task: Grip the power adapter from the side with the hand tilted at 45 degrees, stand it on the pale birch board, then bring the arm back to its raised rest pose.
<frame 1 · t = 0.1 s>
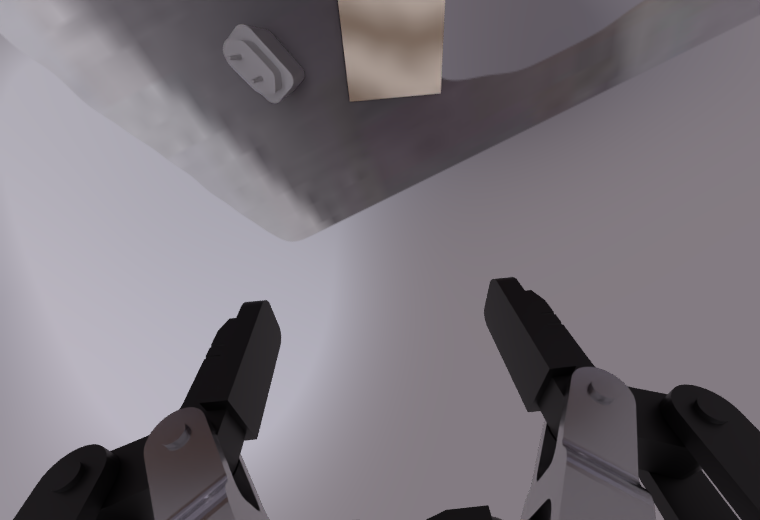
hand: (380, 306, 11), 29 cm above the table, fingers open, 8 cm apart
birch board: (391, 27, 29), on the table
power adapter: (277, 62, 30), on the table
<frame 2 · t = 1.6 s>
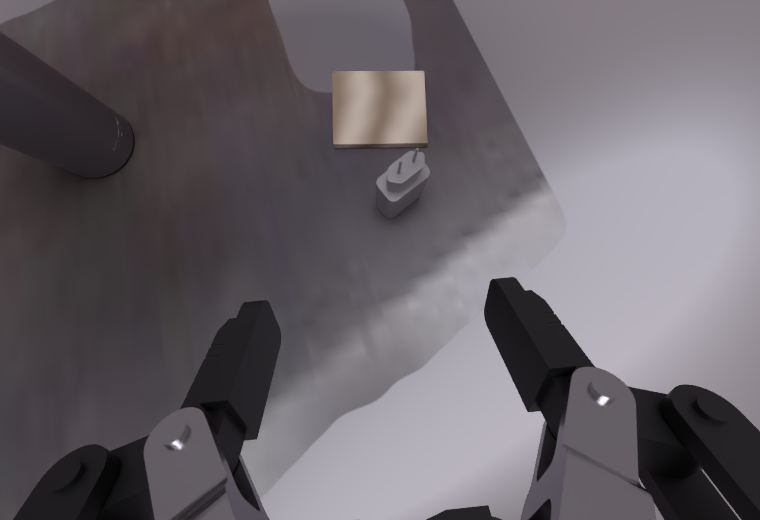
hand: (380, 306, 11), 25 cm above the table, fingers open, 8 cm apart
birch board: (379, 111, 38), on the table
power adapter: (397, 199, 37), on the table
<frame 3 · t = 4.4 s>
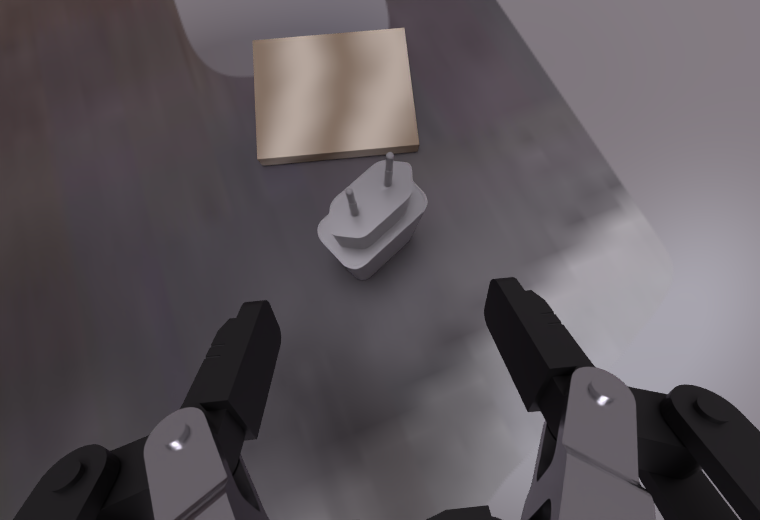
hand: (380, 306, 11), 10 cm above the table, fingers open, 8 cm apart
birch board: (335, 100, 23), on the table
power adapter: (374, 244, 22), on the table
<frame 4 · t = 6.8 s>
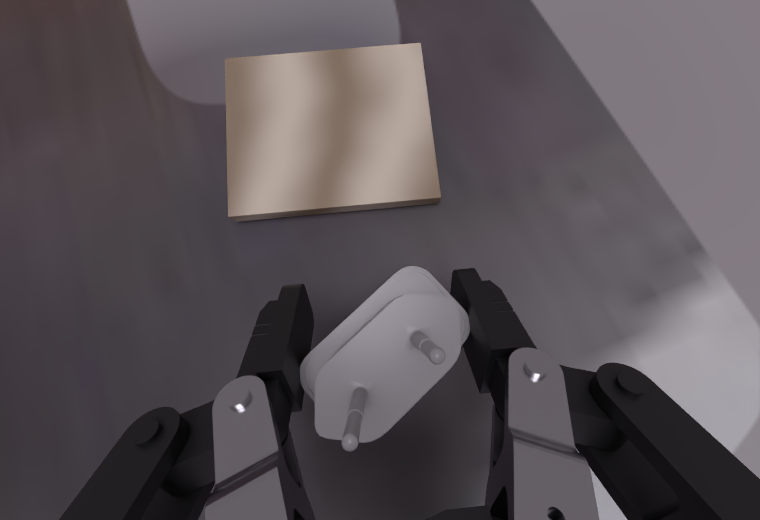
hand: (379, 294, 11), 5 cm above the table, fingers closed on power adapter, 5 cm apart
birch board: (331, 135, 18), on the table
power adapter: (382, 328, 16), on the table, touching gripper
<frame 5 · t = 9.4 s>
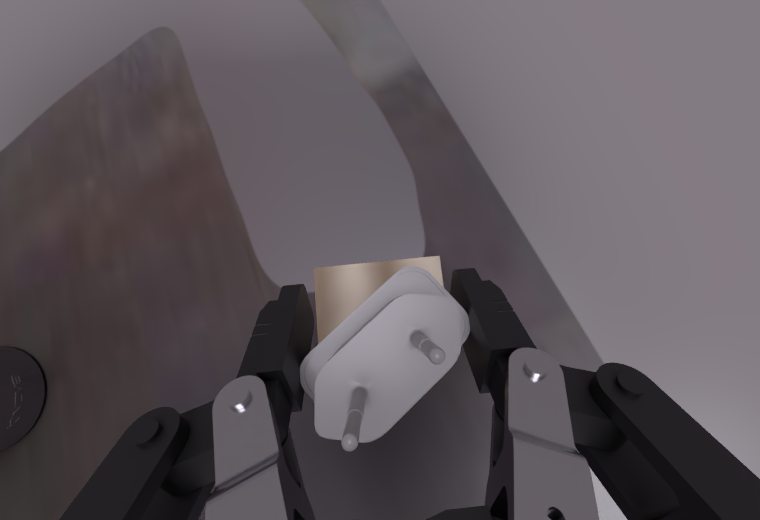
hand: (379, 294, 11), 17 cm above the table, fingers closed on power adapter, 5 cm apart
birch board: (381, 314, 28), on the table
power adapter: (382, 328, 16), point 11 cm above the table, touching gripper
when the fingers open (7 cm above the table, at t = 12.0 s): power adapter stays where it is, resting on birch board.
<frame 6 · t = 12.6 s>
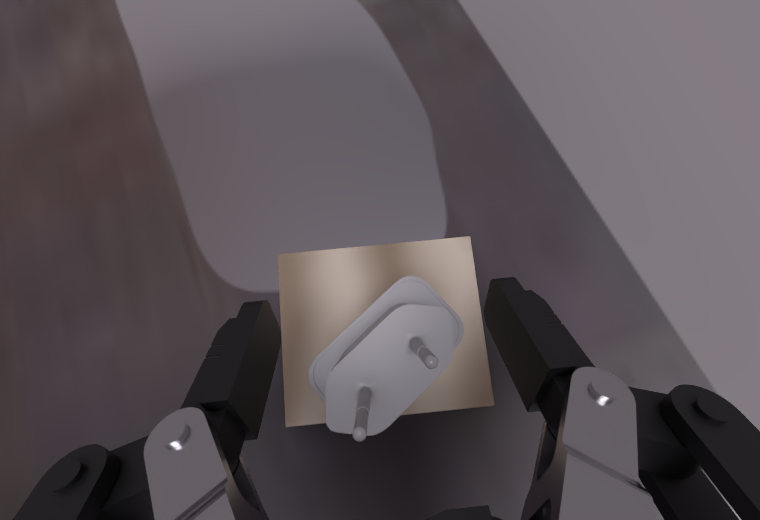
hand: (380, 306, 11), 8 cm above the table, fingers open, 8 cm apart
birch board: (382, 325, 18), on the table
power adapter: (382, 330, 17), point 1 cm above the table, touching birch board
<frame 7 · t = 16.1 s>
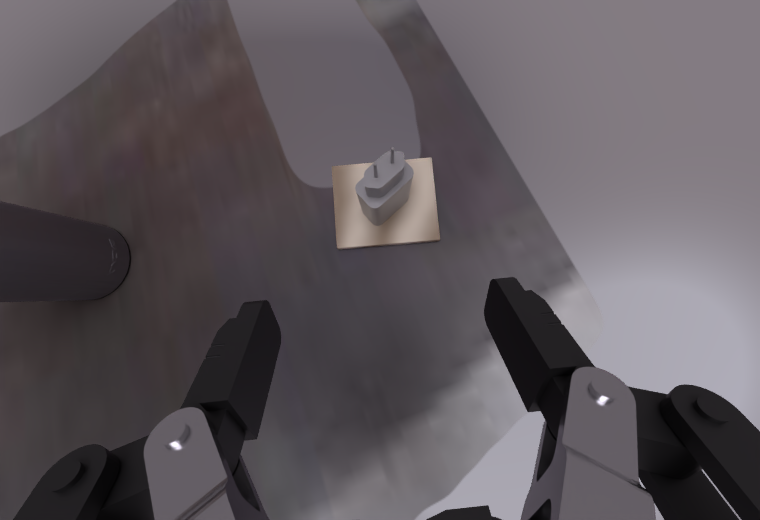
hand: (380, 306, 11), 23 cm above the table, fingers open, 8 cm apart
birch board: (384, 204, 35), on the table
power adapter: (385, 204, 34), point 1 cm above the table, touching birch board
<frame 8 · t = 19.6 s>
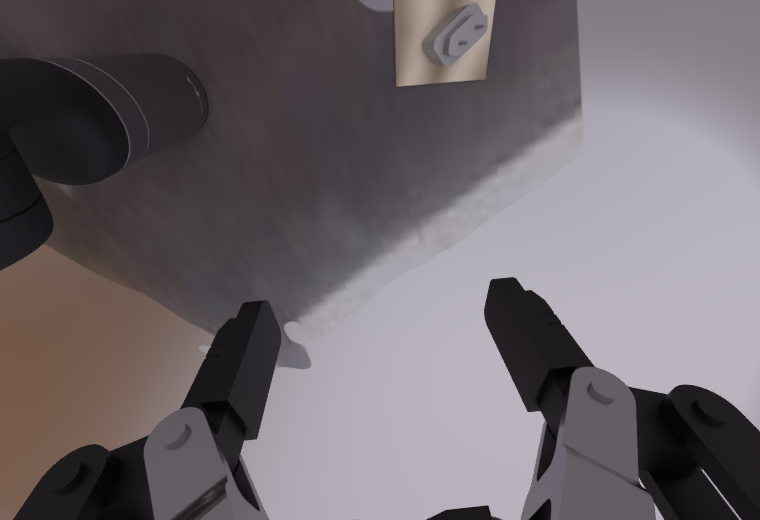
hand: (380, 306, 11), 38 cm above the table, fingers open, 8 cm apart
birch board: (441, 36, 37), on the table
power adapter: (443, 37, 36), point 1 cm above the table, touching birch board
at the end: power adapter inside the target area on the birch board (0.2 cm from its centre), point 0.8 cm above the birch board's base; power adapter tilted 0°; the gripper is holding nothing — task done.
